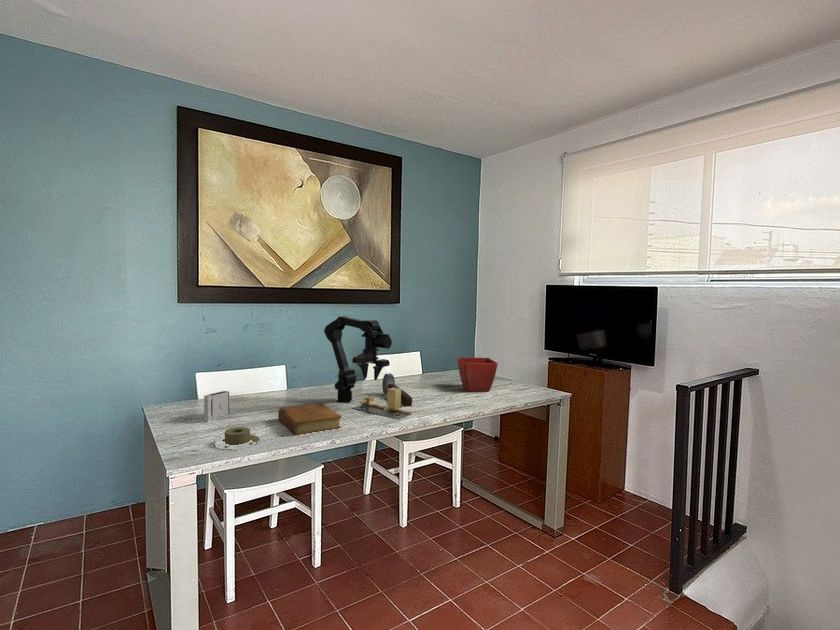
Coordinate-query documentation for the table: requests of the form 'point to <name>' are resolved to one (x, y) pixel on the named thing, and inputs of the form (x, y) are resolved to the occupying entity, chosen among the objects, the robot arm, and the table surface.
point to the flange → (239, 436)
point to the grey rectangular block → (216, 404)
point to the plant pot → (477, 373)
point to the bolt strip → (380, 411)
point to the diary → (309, 418)
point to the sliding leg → (393, 399)
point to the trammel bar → (369, 402)
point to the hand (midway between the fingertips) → (370, 379)
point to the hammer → (390, 383)
